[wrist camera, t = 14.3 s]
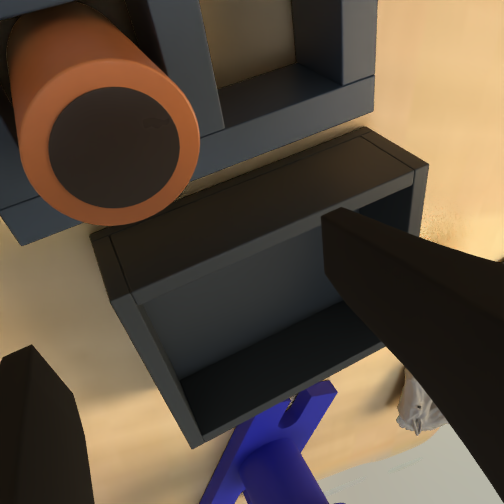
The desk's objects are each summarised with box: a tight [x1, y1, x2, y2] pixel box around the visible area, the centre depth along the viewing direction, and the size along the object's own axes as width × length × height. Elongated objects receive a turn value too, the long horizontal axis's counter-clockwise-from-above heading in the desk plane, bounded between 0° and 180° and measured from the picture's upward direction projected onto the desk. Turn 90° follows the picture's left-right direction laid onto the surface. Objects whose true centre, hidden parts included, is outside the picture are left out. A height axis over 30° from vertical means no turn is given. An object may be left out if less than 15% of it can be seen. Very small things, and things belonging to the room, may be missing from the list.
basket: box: [89, 127, 429, 449], centre depth 24 cm, size 15×13×5 cm
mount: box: [199, 380, 345, 504], centre depth 35 cm, size 15×8×9 cm, turn 156°
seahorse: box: [396, 262, 504, 436], centre depth 41 cm, size 5×12×20 cm
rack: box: [0, 0, 378, 246], centre depth 15 cm, size 8×14×4 cm, turn 97°
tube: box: [6, 1, 200, 226], centre depth 13 cm, size 4×4×8 cm
